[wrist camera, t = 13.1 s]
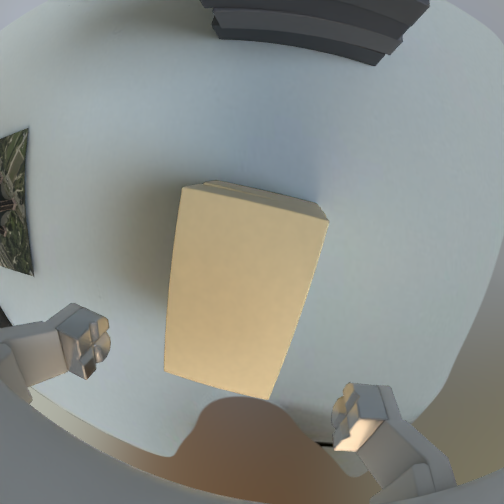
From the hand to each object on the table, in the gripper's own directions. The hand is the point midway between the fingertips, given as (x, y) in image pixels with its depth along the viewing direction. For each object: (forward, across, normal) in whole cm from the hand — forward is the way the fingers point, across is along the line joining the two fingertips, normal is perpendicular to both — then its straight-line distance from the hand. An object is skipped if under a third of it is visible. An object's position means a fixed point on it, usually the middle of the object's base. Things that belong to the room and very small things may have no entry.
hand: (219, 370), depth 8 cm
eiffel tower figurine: (+11, +27, +1) cm, 29 cm away
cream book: (+6, 0, 0) cm, 6 cm away
